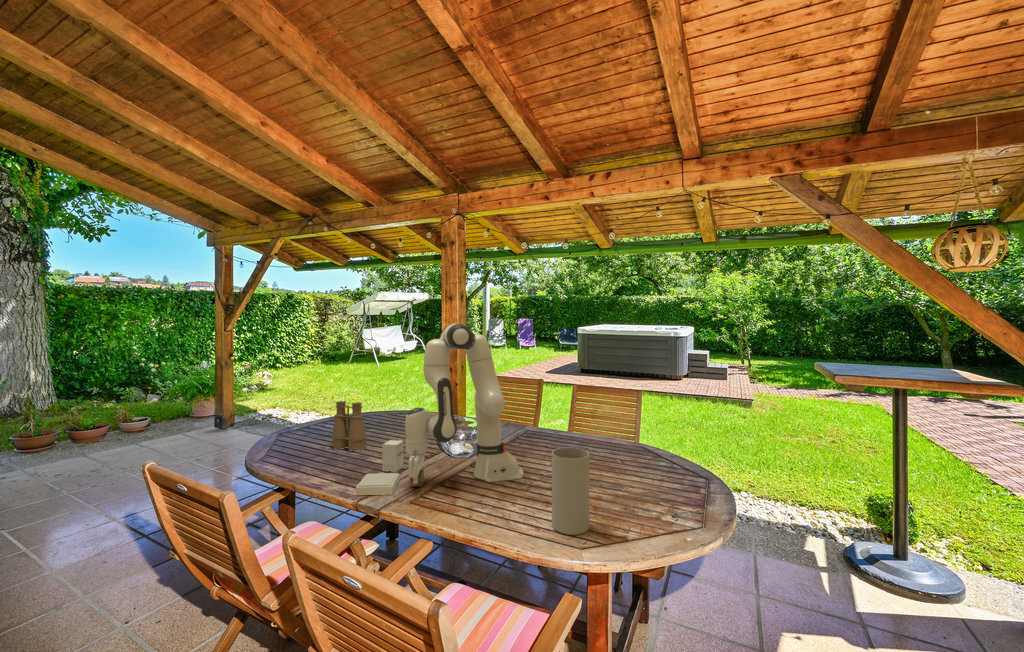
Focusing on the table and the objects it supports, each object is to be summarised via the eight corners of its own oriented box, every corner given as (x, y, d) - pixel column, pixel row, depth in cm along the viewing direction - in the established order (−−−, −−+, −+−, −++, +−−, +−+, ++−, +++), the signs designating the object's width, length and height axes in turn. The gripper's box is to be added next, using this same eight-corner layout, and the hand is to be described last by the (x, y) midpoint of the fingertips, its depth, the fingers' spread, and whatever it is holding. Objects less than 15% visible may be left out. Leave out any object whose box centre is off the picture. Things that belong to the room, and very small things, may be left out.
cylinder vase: (555, 515, 150) (555, 446, 149) (591, 520, 146) (591, 449, 146) (548, 533, 138) (548, 457, 137) (587, 538, 134) (587, 460, 134)
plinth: (399, 481, 182) (399, 472, 182) (391, 495, 168) (391, 485, 168) (366, 482, 181) (366, 473, 181) (356, 496, 167) (355, 486, 167)
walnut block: (423, 481, 180) (423, 469, 180) (422, 486, 175) (422, 474, 175) (412, 481, 180) (411, 470, 179) (410, 486, 175) (409, 474, 174)
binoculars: (327, 449, 228) (326, 403, 228) (340, 443, 238) (340, 399, 237) (358, 453, 221) (358, 405, 221) (370, 447, 231) (370, 402, 230)
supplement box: (396, 472, 193) (396, 445, 193) (381, 471, 195) (381, 444, 194) (404, 466, 200) (403, 440, 200) (389, 465, 202) (389, 439, 202)
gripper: (420, 455, 167) (421, 489, 167) (427, 440, 187) (427, 471, 187) (404, 455, 166) (404, 490, 167) (412, 440, 187) (413, 471, 187)
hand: (417, 480), depth 177 cm, fingers closed on walnut block, 5 cm apart
